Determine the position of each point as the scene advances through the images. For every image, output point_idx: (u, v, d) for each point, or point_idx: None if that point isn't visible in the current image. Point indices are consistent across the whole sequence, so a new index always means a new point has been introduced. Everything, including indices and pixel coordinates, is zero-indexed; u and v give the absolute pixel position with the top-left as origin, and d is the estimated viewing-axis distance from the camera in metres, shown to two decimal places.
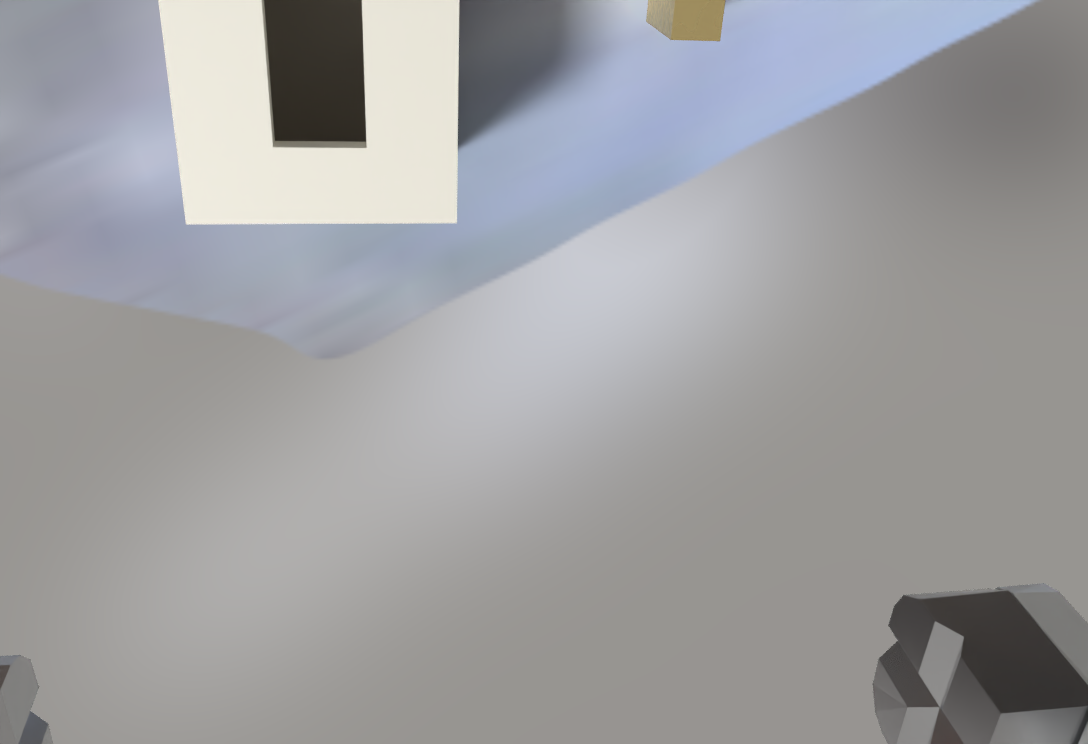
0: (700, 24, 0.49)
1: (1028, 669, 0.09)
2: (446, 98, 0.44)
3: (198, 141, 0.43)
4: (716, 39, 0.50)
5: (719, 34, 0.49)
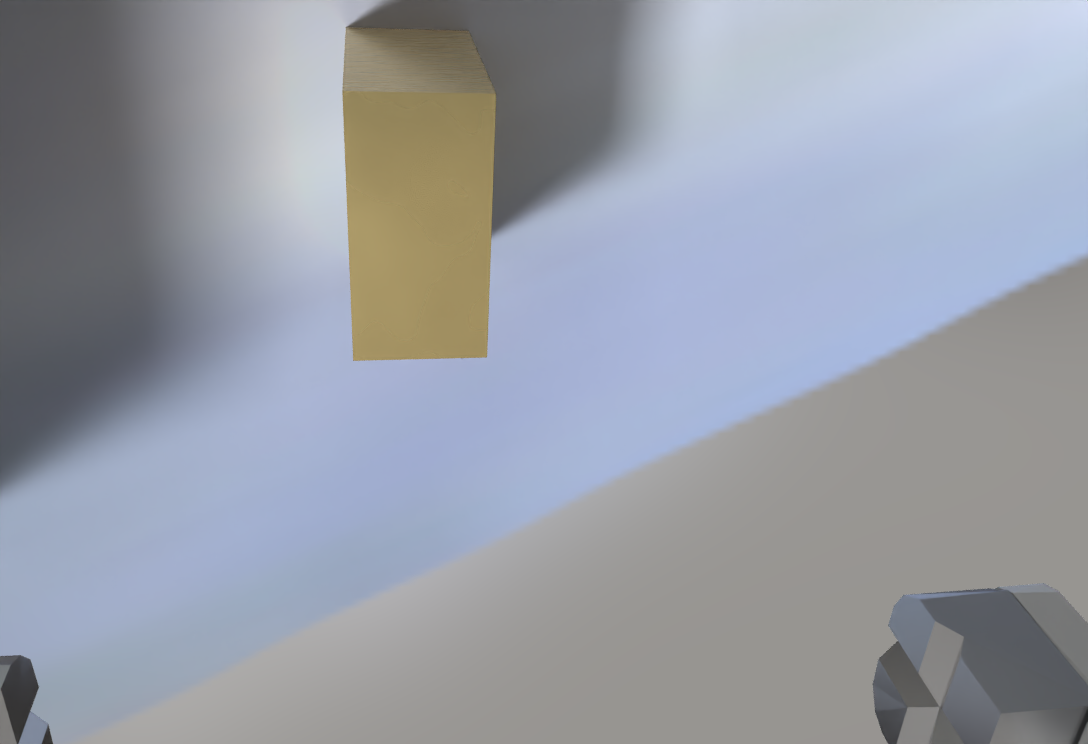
0: (428, 322, 0.19)
1: (1029, 669, 0.09)
2: None
3: None
4: (477, 354, 0.19)
5: (483, 343, 0.19)
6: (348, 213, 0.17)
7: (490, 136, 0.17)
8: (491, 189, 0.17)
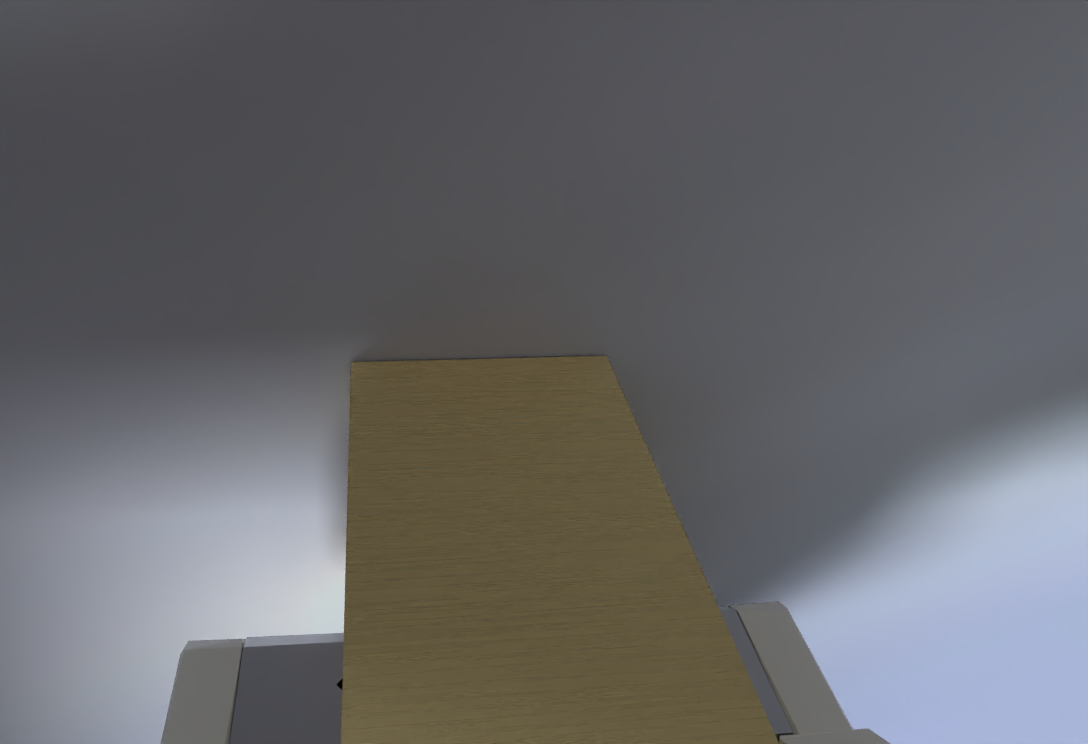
0: None
1: None
2: None
3: None
4: None
5: None
6: None
7: None
8: None
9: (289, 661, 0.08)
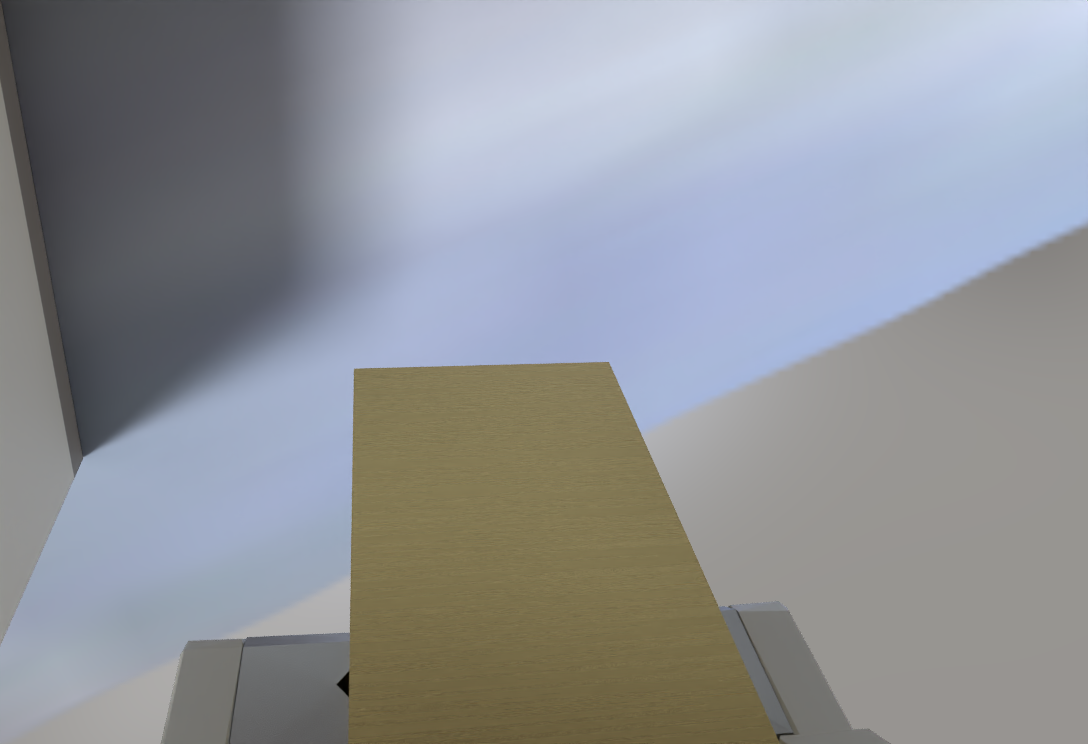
0: None
1: None
2: None
3: None
4: None
5: None
6: None
7: None
8: None
9: (289, 661, 0.08)
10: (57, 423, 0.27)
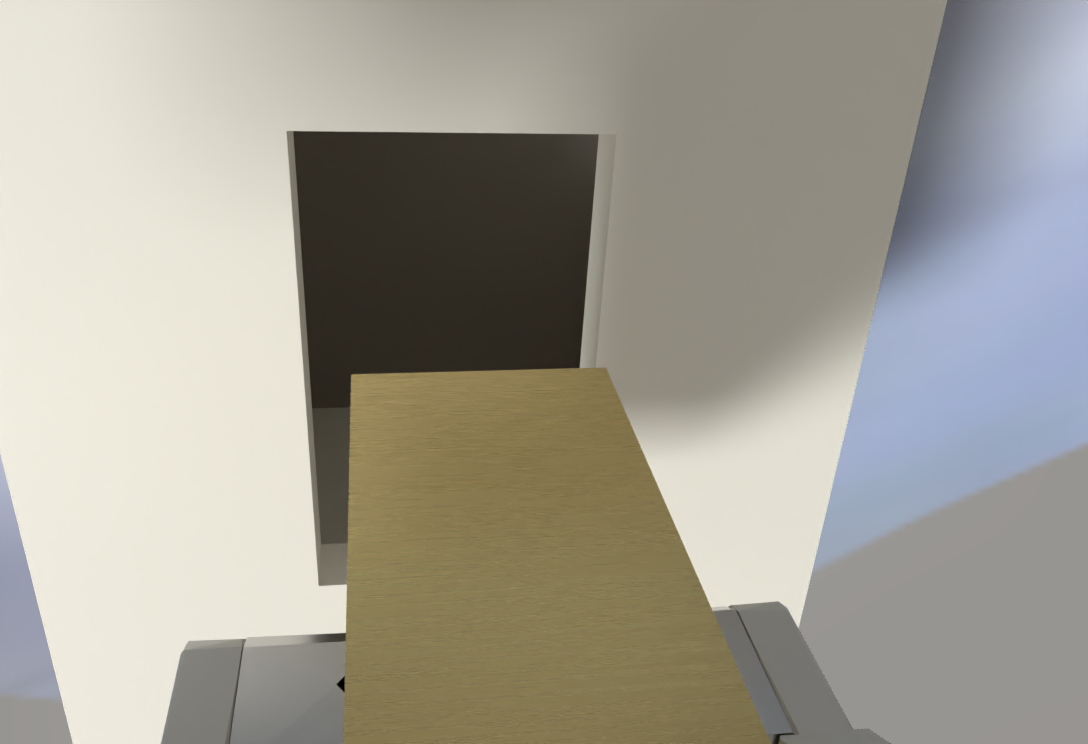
0: None
1: None
2: (811, 444, 0.15)
3: (102, 586, 0.15)
4: None
5: None
6: None
7: None
8: None
9: (289, 661, 0.08)
10: None
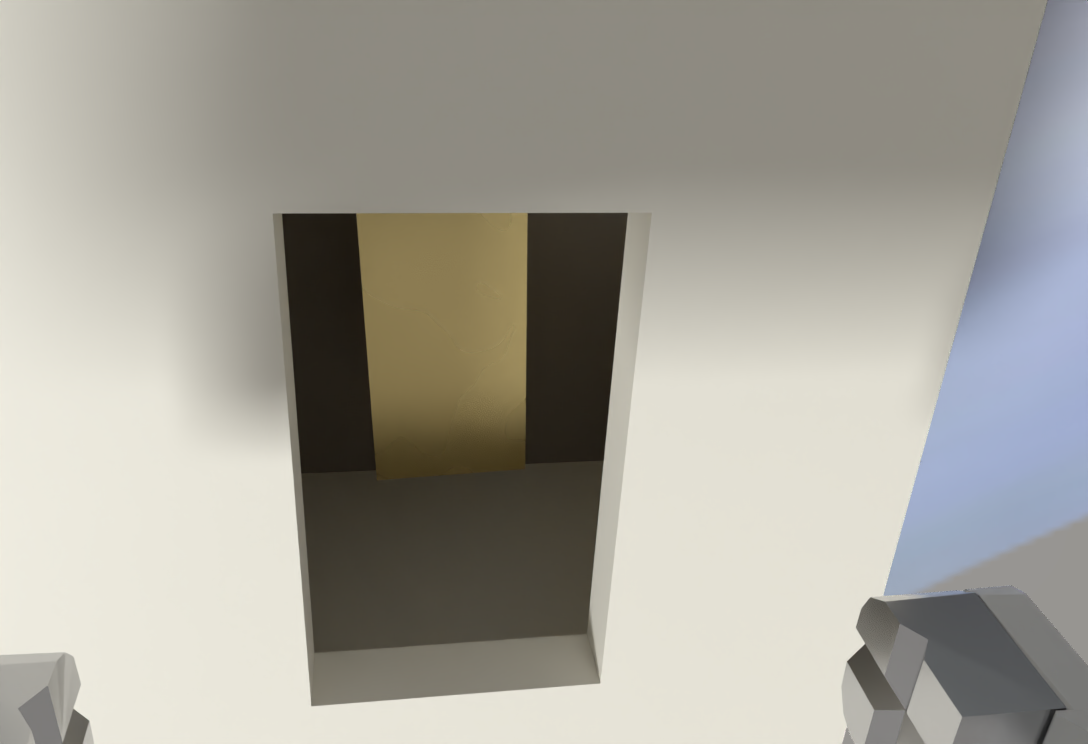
0: (458, 435, 0.17)
1: (992, 671, 0.09)
2: (862, 545, 0.14)
3: None
4: (514, 466, 0.17)
5: (521, 454, 0.17)
6: (366, 323, 0.15)
7: (522, 232, 0.15)
8: (525, 289, 0.16)
9: None
10: None
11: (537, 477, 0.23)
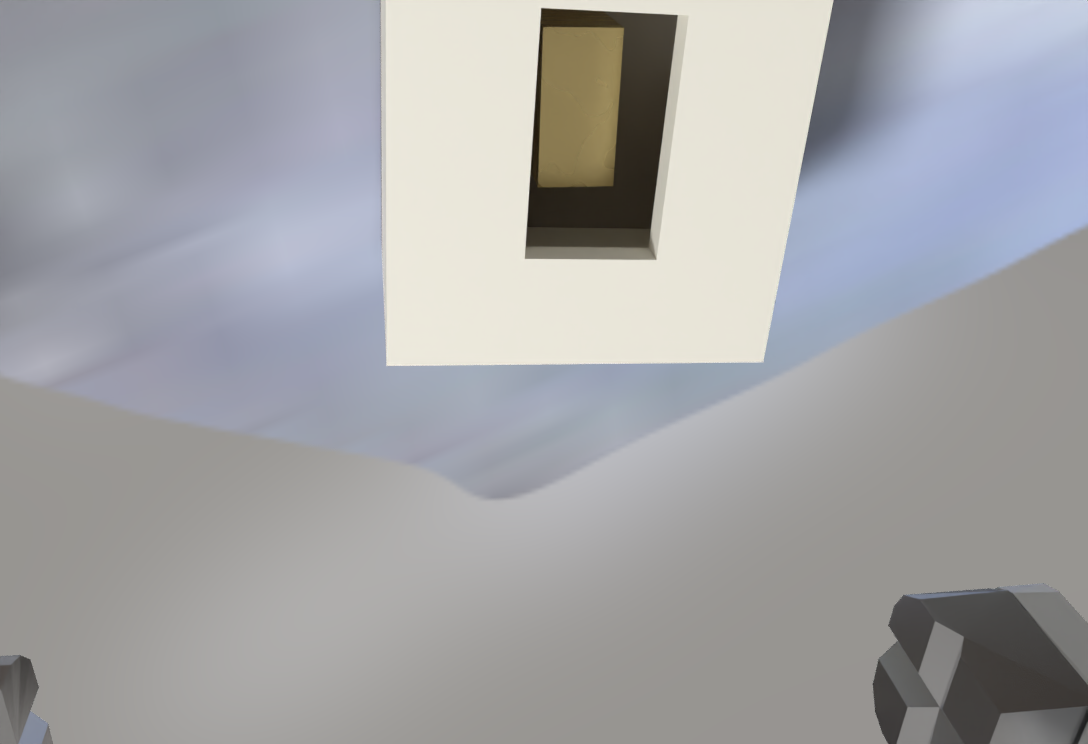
0: (581, 163, 0.33)
1: (1028, 669, 0.09)
2: (780, 190, 0.30)
3: (419, 250, 0.29)
4: (607, 184, 0.33)
5: (611, 177, 0.33)
6: (541, 97, 0.31)
7: (620, 52, 0.31)
8: (619, 82, 0.32)
9: None
10: None
11: (606, 233, 0.39)
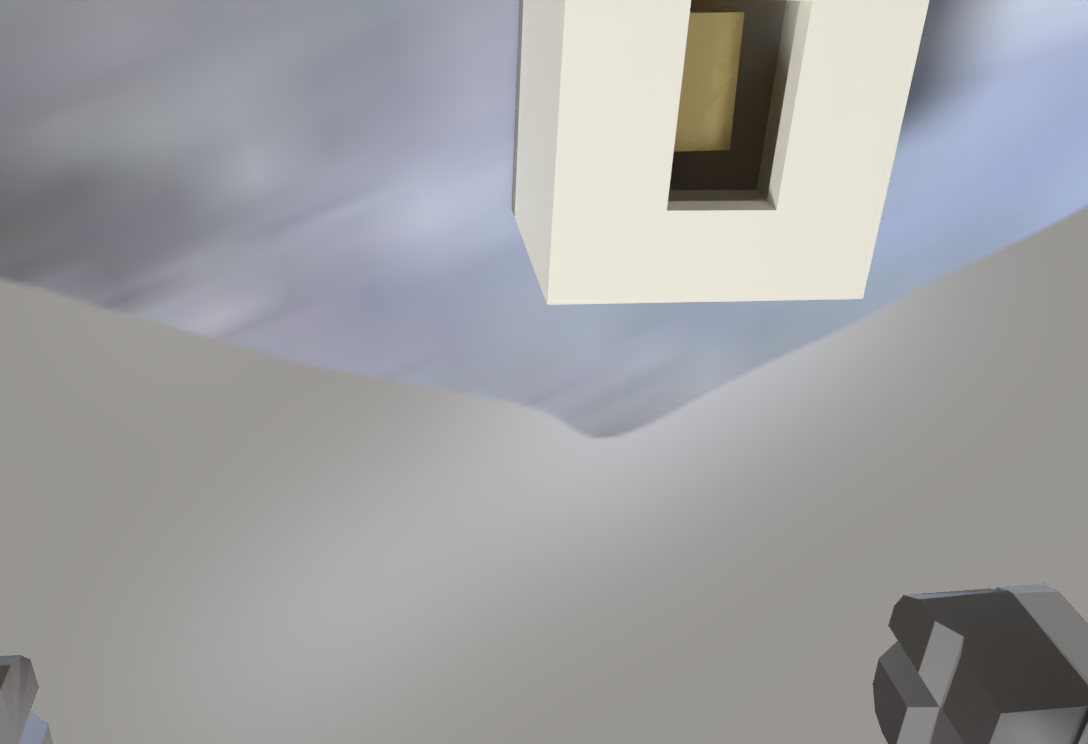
0: (703, 130, 0.38)
1: (1028, 668, 0.09)
2: (882, 149, 0.35)
3: (580, 204, 0.34)
4: (725, 148, 0.38)
5: (728, 141, 0.38)
6: None
7: (740, 33, 0.36)
8: (738, 59, 0.37)
9: None
10: None
11: (710, 194, 0.44)
